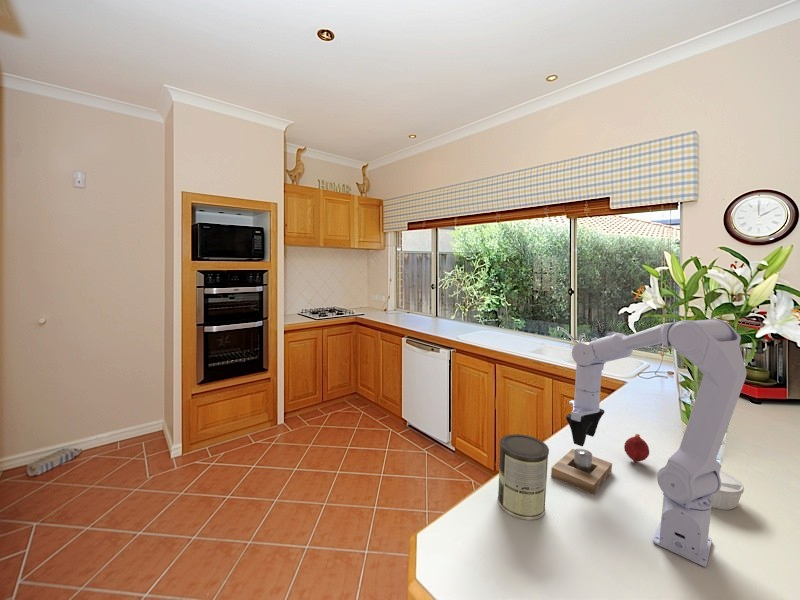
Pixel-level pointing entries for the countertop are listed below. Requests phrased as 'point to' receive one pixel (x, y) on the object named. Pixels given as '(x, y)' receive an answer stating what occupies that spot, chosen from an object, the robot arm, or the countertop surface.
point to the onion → (636, 448)
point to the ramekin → (727, 492)
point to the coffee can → (523, 476)
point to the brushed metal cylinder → (583, 460)
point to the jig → (581, 473)
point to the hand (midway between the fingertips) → (584, 439)
